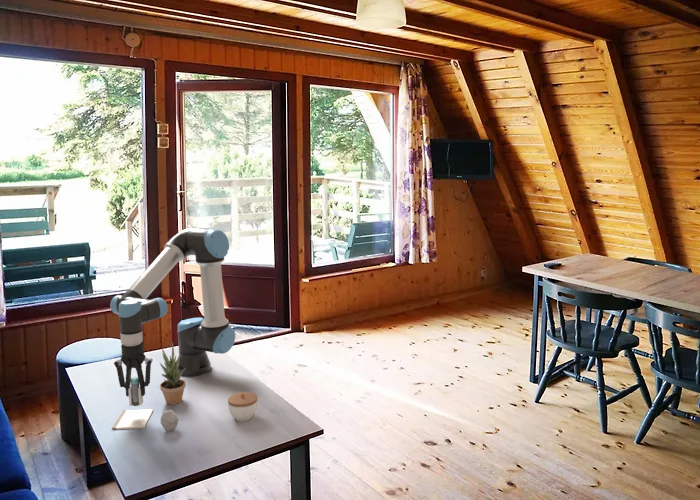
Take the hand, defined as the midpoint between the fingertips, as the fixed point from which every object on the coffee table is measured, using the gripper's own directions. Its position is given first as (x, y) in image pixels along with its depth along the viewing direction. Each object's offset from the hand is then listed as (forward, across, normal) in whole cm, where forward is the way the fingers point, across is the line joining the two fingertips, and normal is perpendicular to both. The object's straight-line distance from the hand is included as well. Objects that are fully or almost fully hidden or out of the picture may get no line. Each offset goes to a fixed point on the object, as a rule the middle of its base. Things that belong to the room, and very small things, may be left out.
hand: (136, 403), depth 218 cm
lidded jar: (+5, -39, +4) cm, 40 cm away
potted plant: (+5, -11, -13) cm, 18 cm away
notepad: (+5, +1, +2) cm, 6 cm away
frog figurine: (+5, -14, +12) cm, 19 cm away
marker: (0, 0, 0) cm, 0 cm away
